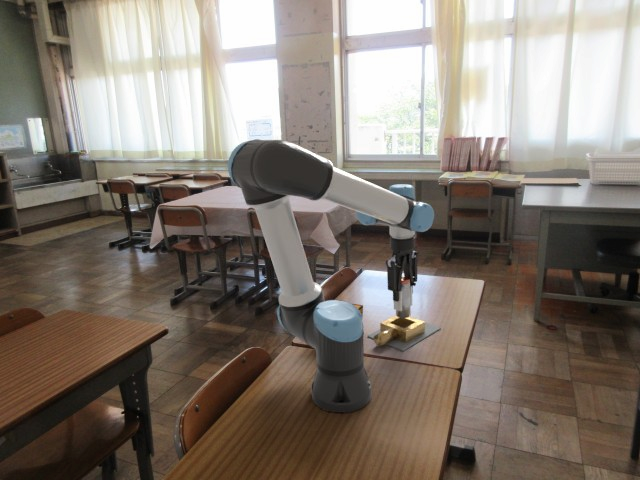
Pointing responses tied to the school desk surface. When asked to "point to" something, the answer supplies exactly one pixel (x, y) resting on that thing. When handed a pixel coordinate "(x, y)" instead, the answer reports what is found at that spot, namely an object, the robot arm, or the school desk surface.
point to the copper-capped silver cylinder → (405, 299)
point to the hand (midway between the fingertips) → (403, 307)
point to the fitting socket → (399, 330)
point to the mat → (403, 346)
